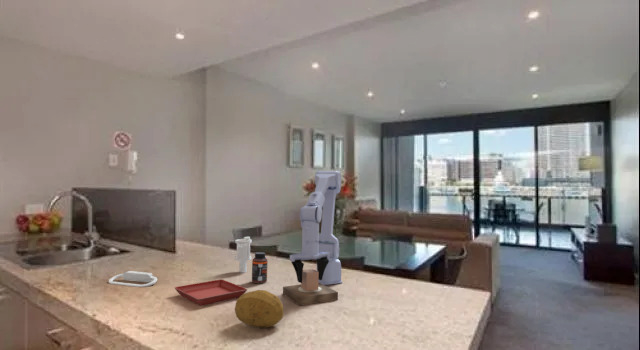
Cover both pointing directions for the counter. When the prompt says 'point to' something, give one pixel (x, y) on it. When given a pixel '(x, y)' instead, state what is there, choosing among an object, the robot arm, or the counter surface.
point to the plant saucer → (210, 292)
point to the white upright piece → (243, 253)
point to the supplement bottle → (259, 268)
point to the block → (310, 279)
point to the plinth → (310, 294)
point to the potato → (259, 309)
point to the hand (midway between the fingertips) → (309, 280)
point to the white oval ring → (135, 278)
